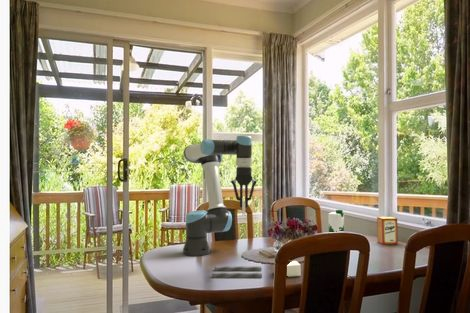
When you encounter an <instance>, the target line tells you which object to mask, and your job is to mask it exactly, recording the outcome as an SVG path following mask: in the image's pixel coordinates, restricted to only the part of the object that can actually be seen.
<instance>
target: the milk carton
mask: <svg viewBox="0 0 470 313" xmlns="http://www.w3.org/2000/svg"><path fill="white" fill-rule="evenodd" d="M327 217H328V233H329V232H337V231H344V232H345V212H343V209H335V211H332V212H329V213H327Z"/></svg>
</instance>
